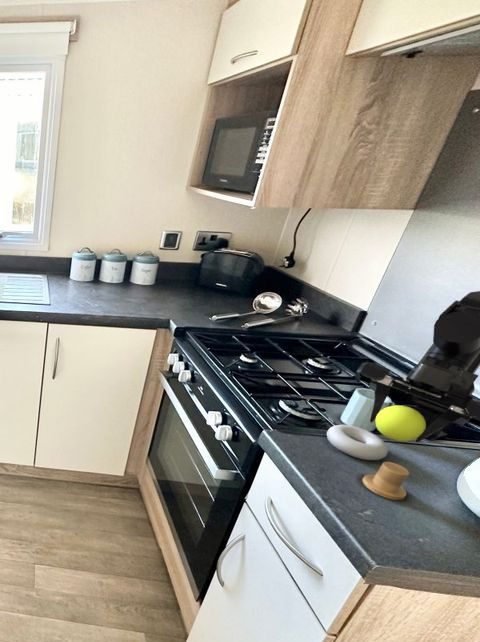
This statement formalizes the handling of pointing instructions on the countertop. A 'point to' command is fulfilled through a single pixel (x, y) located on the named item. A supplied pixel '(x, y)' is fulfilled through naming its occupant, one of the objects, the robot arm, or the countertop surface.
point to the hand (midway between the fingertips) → (392, 431)
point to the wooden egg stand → (387, 481)
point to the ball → (400, 423)
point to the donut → (357, 442)
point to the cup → (361, 409)
